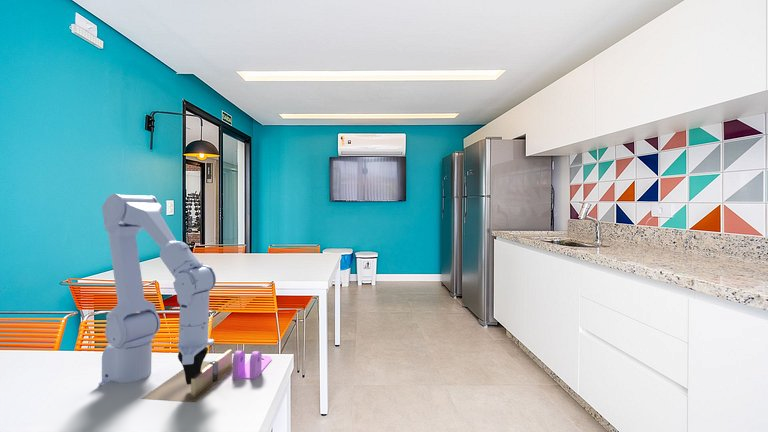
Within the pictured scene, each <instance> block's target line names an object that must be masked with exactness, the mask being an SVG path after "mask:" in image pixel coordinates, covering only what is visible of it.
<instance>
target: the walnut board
mask: <svg viewBox="0 0 768 432" xmlns="http://www.w3.org/2000/svg"><path fill="white" fill-rule="evenodd" d="M210 362H211V361H205V360H203V362H202V366H201V371H202V370H203V369H204V368H206V367H207V366H208V365H210ZM232 368H233V362H232V366H231V367H230V368H229V369H228V370H227V371H226V372H224V373H223V374H222V375H221V376H220V377H219V378H218V380H217V381H215V382H212V383H211V384H210V385H209V386H207V387H206V388H205V389H204V390H203V391H202V392H201V393H199V394H198V395H197V396H196V397H195V398H192V397H191V384H188V385H187V383H186V379H185V372H184V368H183V369H182V370H179V372H177V373H175V374H174V375H173V376H172V377H170V378H169V379H167V380H166V381H164V382H163V383H161V384H160V385H158V386H157V387H156V388H154V389H153V390H151V391H150V392H149V393H147V394H145V395H144V396H142V398H141V399H142V400H153V401H155V400H157V401H168V402H169V401H170V402H185V403H197V402H198V401H199V400H200V399H201V398H202V397H203V396H205V395H206V394H207V393H208V392H209V391H210V390H212V389H213V388H214V387H215V386H216V385H217V384H218V383H220V381H222V380H223V379H224V378H226V376H227V375H229V374H230V372H232ZM201 371H200V372H201Z"/></svg>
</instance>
